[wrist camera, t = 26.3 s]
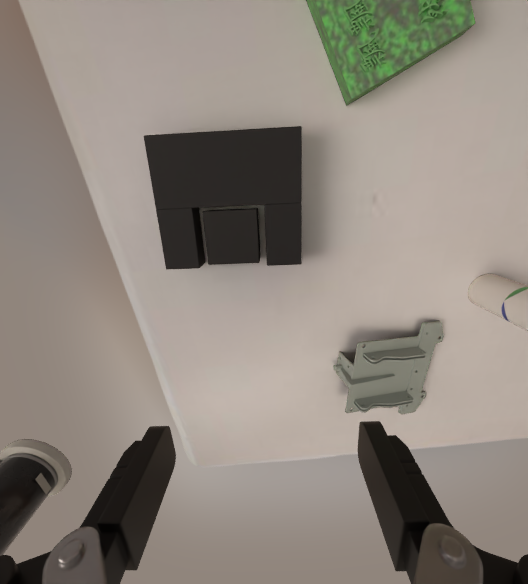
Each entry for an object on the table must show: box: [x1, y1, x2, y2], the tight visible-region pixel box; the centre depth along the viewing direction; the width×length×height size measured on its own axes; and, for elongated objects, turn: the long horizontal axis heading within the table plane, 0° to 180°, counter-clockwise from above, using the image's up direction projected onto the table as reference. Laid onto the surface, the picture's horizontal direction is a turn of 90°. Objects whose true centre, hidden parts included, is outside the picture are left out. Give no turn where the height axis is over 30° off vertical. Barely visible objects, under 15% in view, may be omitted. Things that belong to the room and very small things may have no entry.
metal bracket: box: [333, 321, 444, 414], centre depth 37 cm, size 14×6×15 cm
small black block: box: [203, 208, 260, 265], centre depth 31 cm, size 6×6×3 cm
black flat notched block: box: [144, 126, 301, 269], centre depth 30 cm, size 16×14×3 cm
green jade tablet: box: [306, 0, 475, 105], centre depth 24 cm, size 11×12×2 cm
